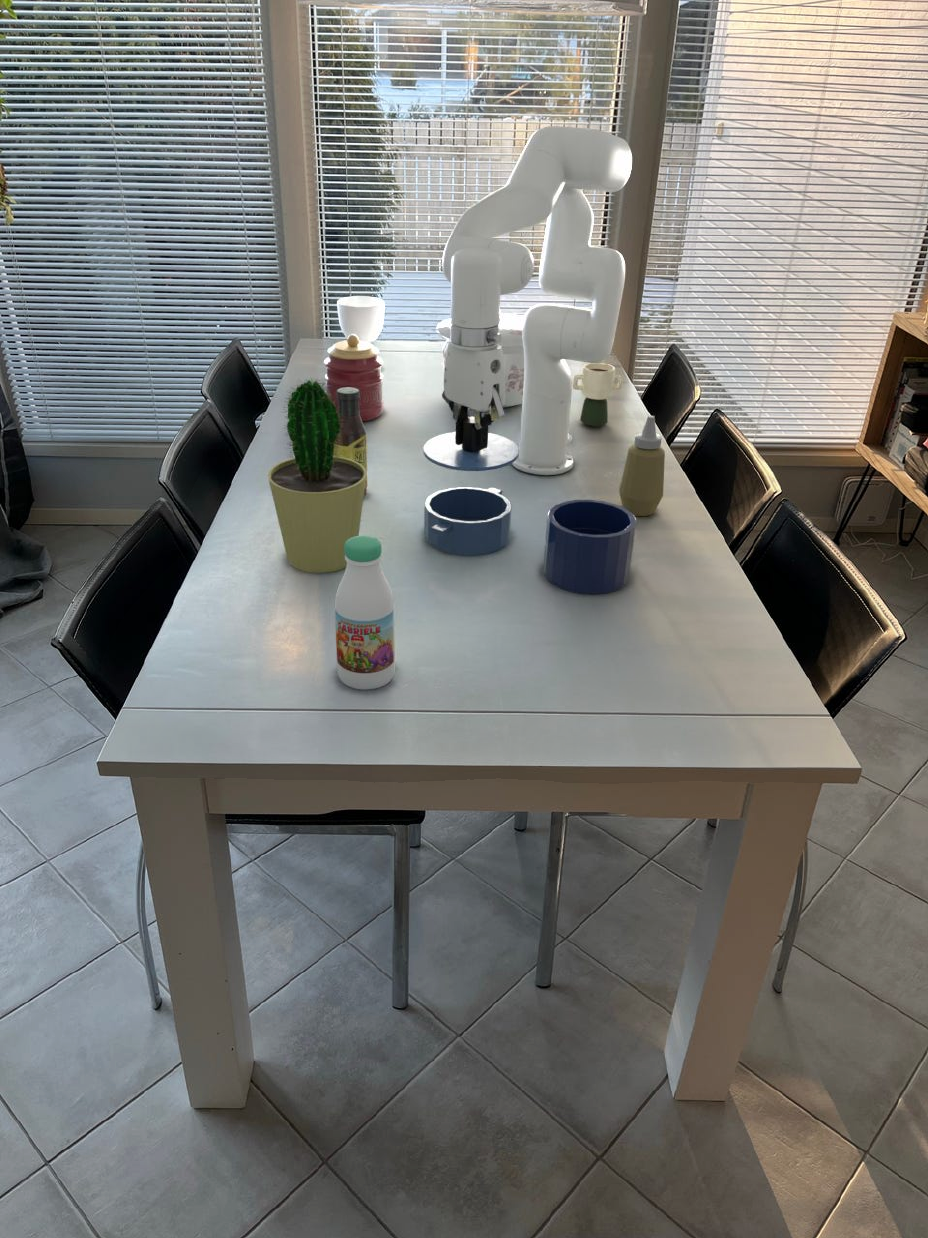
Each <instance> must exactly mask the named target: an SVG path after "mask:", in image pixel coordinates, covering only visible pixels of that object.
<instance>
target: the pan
mask: <svg viewBox="0 0 928 1238" xmlns="http://www.w3.org/2000/svg"><path fill="white" fill-rule="evenodd" d="M512 506H513V505H512V503H511V502H510V500H509V499H508V497H507V496H504V495H503V490H502V489H498V488H495V487H491V486H490V487H489V488H487V489H486V488H482V487H471V486H460V487H447V488H445V489H442V490H438V491H435V492H434V493H432V494H431V495H429V496H427V498H426V500H425V502H424V509H423V510H424V513H423V515H424V517H423V518H424V519H423V521H424V522H423V523H424V525H423V527H424V529H423V533H424V537H425V541H426V542H427V543H428V544H429V545H430V546H431V547H433V548H435V549H436V550H439V551H441V552H443V553H448V554H452V555H457V556H481V555H488V554H491V553H494V552H497V551H500V550H502V549H503V548H504V547H506V546H507V544H508V543H509V541H510V535H511V523H512V522H511V521H512Z"/></svg>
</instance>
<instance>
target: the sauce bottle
mask: <svg viewBox="0 0 928 1238" xmlns="http://www.w3.org/2000/svg"><path fill="white" fill-rule="evenodd" d="M359 398H360V394H359V390H358V389H356V388H352V387H346V388H340V389H338V390H337V399H338V414H340V413H341V414H340V416H341V417H340V416H338V418H339V423H340V424H341V425H340V427H343V426H346V427H343V428H340V430H341V433H340V432H339V433H338V434H337V436H340V437H337V438H336V439H338V438H339V439H338V440H335V441H334V447H336V446H337V445H338V446H337V447H336V448H338V449H335V448H334V451H335V452H334V455H335V454H336V455H337V456H339V457H344V458H348V459H351V460H354V461H356V462H358V463H360V464H361V465H363V466H364V467H365V468H366V471H367V472H368V445H367V444H368V443H367V441H368V440H367V439H368V438H367V431H366V428H365V426H364V423H363V422H364V421H362V420H361V417H360V414H359V413H360V411H359ZM339 410H340V411H339ZM341 419H344V420H341ZM345 420H347V421H345ZM342 423H344V424H343V425H342ZM342 432H343V433H342ZM340 434H341V435H340ZM342 442H343V443H342ZM335 444H337V445H335ZM339 445H340V446H339ZM336 450H338V451H336ZM334 455H333V456H334ZM336 455H335V456H336ZM367 487H368V475H367V476H366V480H365V489H364V497H365V496H366V495H367V489H368V488H367Z"/></svg>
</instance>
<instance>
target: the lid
mask: <svg viewBox="0 0 928 1238" xmlns="http://www.w3.org/2000/svg"><path fill="white" fill-rule="evenodd" d="M474 427H475V419H474V416H469V417H466V418H464V419H463V434H462V444H461V445H457V444H455V431H454V432H453V431H452V432H447V433H443V434H438V435H436V436H434V437H432V438H430V439H428V440H427V441H426V442H425V443H424V445H423V455H424V457H425V458H426V459H427V460H428V461H429V462H431V463H432V464H434V465H436V466H439V467H442V468H444V469H449V470H455V471H461V472H485V471H486V472H487V471H493V470H498V469H502V468H506V467H508V466H510V465H512V463H513V462H514V461H515V460H516V459H517V458H518V456H519V449H520V447H519V446H518V445H517V443H516V442H514V441H513V440H511V439H509V438H508V437H505V436H502V435H499V434H495V433H491V432H488V446H487V448H485V449H482V450H479V451H477V452H474V451H472V449H471V444H472V428H474Z"/></svg>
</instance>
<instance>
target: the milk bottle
mask: <svg viewBox="0 0 928 1238" xmlns="http://www.w3.org/2000/svg"><path fill="white" fill-rule="evenodd" d="M382 548H383V547H382V543H381V540H380V539H378V538H376V537H374V536H372V535H359V536H355V537H352V538H350V539H348V540H347V541H346V542H345V548H344V549H345V560H346V561H347V566H346V567H345V570H344V574H343V576H342V578H341V580H340V582H339V585H338V587H337V590H336V594H335V600H334V601H335V602H334V624H335V646H336V647H335V648H336V668H337V676H338V678H339V680H340V681H341V682H342V683H343V684H344V685H345V686H347V687H348V688H349V687H350V688H351V689H354V690H364V691H365V690H375V689H378V688H382V687H383V686H386V685H387V684H388V683H390V682H391V681H392V680H393V678H394V676H395V672H396V640H395V639H396V632H395V631H396V629H395V601H394V596H393V591H392V589H391V585H390V584H389V582H388V580H387V578H386V576H385V574H384V572H383V569H382V566H381V562H380V561H382V559H383V558H382V553H383V551H382V550H383V549H382Z"/></svg>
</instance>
